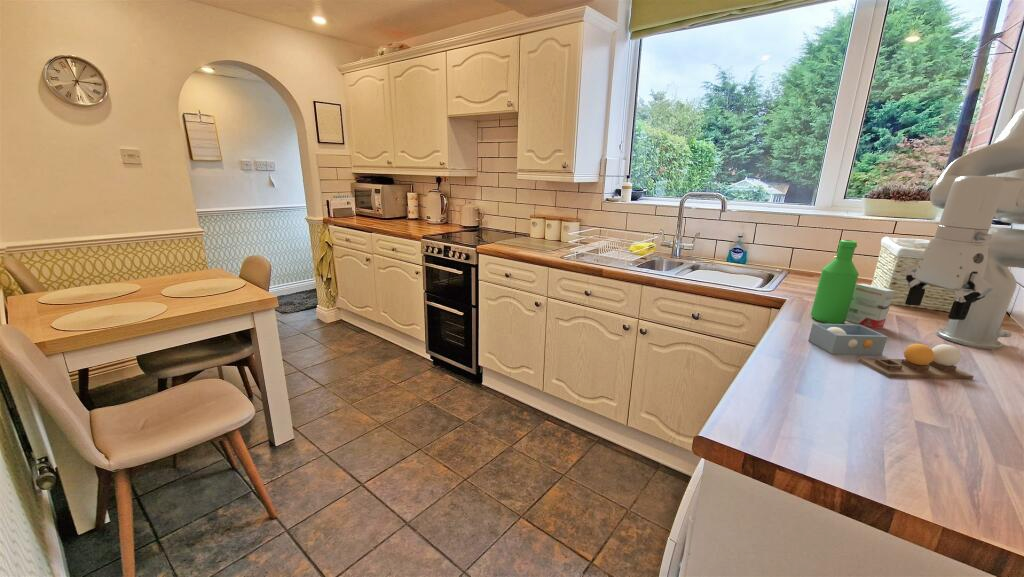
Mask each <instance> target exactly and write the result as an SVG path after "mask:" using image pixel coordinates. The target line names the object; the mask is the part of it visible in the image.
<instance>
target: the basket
mask: <svg viewBox="0 0 1024 577" xmlns="http://www.w3.org/2000/svg"><path fill="white" fill-rule="evenodd" d="M930 241H931V240H929V239H923V238H922V239H921V238H907V237H906V238H904V237H903V238H902V237H901V238H900V237H890V236H884V237H883V238H881V241H880V245H881V247H880V250H879V254H878V258H877V263H876V265H875V271H874V276H873V277H872V281H871V284H870V285H872V286H877V287H881V288H885V289H890V290H894V291H895V292H894V295H893V298H892V301H891V304H890V305H891V306H892V305H893V306H902V307H910V308H920V309H927V310H928V311H936V310H937V311H939V312H940V311H941V312H946V313H949V312H950V310H951V308H952V305H953V302H954V301H956V300H957V297H956V294H955V292H954V291H953V290H948V289H944V288H940V287H937V286H933V285H929V284H928V285H926V286H925V287H923V288H922V289H925V293H924V296H923V299H922V301H921V304H920V305H907V304H905V302H906V299H907V296H908V293H909V290H910V288H909V287H908V281H907V279H906V276H907V275H906V269H905V268H906V267H907V266H911V265H915V264H919V262H920V260H921V257H922V255H923V253H924V251H925V249H926V247H927V246H928V244H929V242H930Z"/></svg>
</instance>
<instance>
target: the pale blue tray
mask: <svg viewBox="0 0 1024 577" xmlns="http://www.w3.org/2000/svg"><path fill="white" fill-rule="evenodd" d="M830 327H838V328H841V329H843V330H844V331H845V332H846V334H847V335H837V334H835V333H833V332H831V331H829V330H827V329H828V328H830ZM888 338H889V337H888V336H887V335H884V334H883V333H880V332H878V331H875V330H873V329H871V328H870V327H867V326H864V325H860V324H856V323H854V324H848V323H841V324H829V323H814V322H812V324H811V328H810V332H809V336H808V338H807V339H808V340H807V341H808V342H810V343H811V344H813V345H815V346H817V347H819V348H820V349H823V350H824V351H826V352H828V353H829V354H832V355H862V356H863V355H865V356H866V355H870V356H871V355H873V356H882V355H883V353H884V349H885V347H886V345H887V344H886V343H887V340H888Z"/></svg>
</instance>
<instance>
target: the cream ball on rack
mask: <svg viewBox="0 0 1024 577" xmlns="http://www.w3.org/2000/svg"><path fill="white" fill-rule="evenodd" d="M931 349H932V351H933V353H934V359H933V361H934V362H935V363H937V364H940V365H942V366H952V365H954V366H956V365H957V364H958V363H960V361H961V360H962V353H961V351H960V350H959V349H958V348H957V347H955V346H953V345H951V344H945V343H944V344H937V345H935V346H934V347H933V348H931Z"/></svg>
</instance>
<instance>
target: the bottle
mask: <svg viewBox="0 0 1024 577" xmlns="http://www.w3.org/2000/svg"><path fill="white" fill-rule="evenodd" d="M857 247H858V242H857V241H855V240H851V239H850V240H849V239H841V240H840V241H839V242H838V249H837V252H836V254H835V255H836V258H834V259H833V260H831V261H830V262H829V263H828V264H827V265H825V266H824V267H823V268H822V270H821V273H820V277H819V280H818V285H817V289H816V292H815V296H814V300H813V303H812V308H811V311H810V316H811V317H812V318H813V319H814V320H816V321H819V322H821V323H823V324H844V323H845V322H846V321H847V320H846V317H847V314H848V311H849V307H850V304H851V300H852V297H853V293H854V289H855V286H856V284H857V281H858V277H859V275H860V274H859V272H858V270H857V268H856V266H855V264H854V262H853V260H852V258H853V259H854V253H855V251H856V250H855V249H856V248H857Z"/></svg>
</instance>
